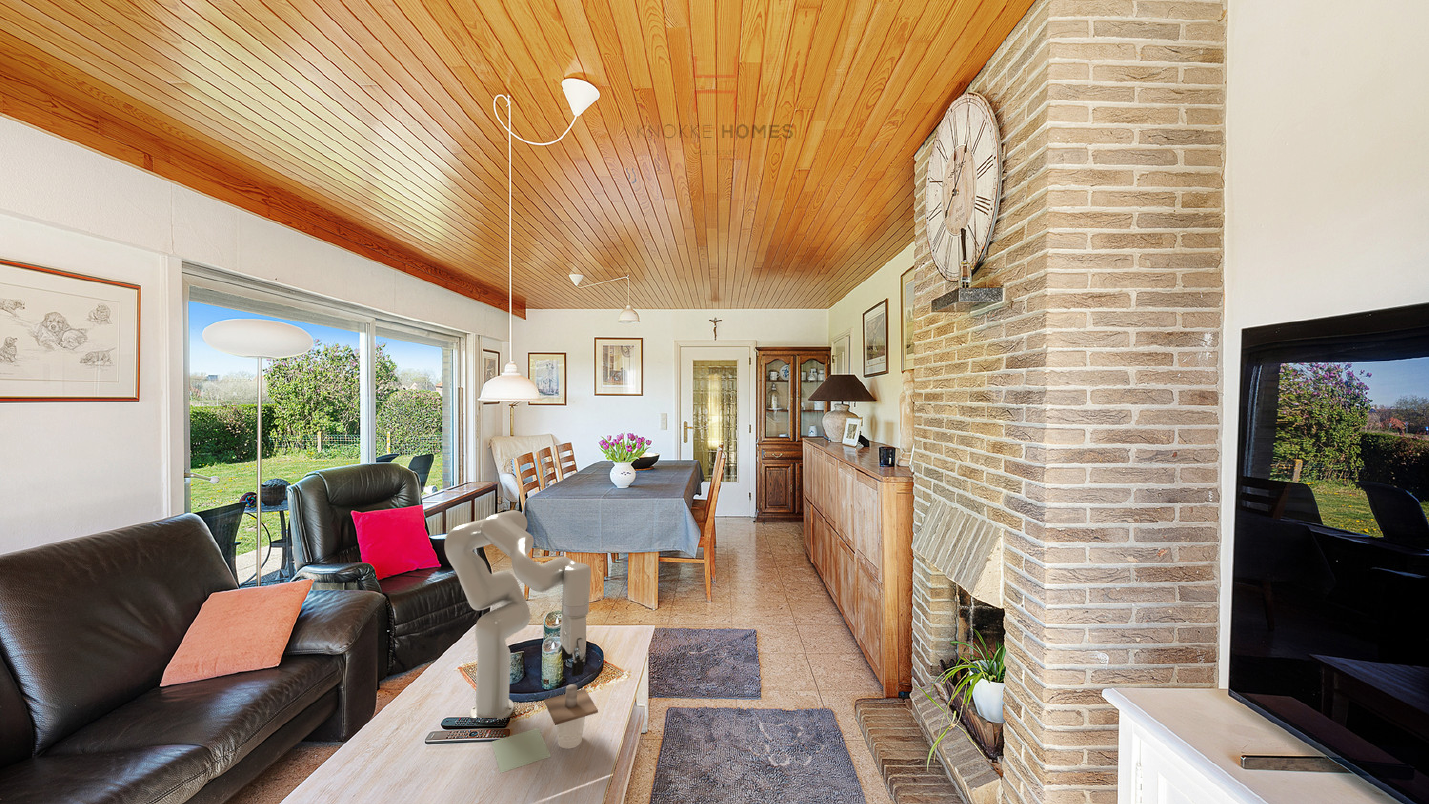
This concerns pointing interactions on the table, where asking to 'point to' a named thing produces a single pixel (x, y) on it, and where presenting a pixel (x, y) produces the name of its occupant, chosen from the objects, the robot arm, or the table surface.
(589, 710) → the walnut lid
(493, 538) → the robot arm
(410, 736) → the table surface
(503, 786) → the table surface
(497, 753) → the sage mat
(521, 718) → the table surface
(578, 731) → the white cup
